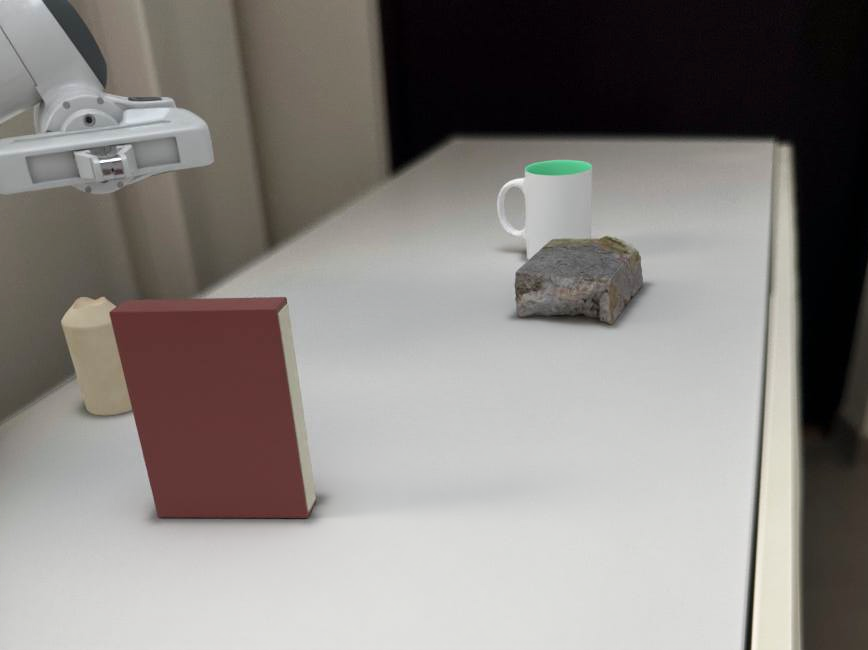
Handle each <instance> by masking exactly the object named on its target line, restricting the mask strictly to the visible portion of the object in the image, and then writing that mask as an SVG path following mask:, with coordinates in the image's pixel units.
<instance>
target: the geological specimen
mask: <svg viewBox="0 0 868 650" xmlns="http://www.w3.org/2000/svg"><path fill="white" fill-rule="evenodd" d="M643 284H644V277H643V268H642V256H641V254H640V251H639V250H638V249H637V248H636V247H635V246H634V244H632V243H630V242H628V241H625V240H623V239H621V238H618V237H612V236H608V235H605V236H602V237H599V238H598V237H597V238H594V237H593V238H592V237H591V238H587V239H573V238H562V239H552V240H550V241H549V242H548V243H547V244H546V245H545V246H544V247H542V248H541V249H540V250H539V252H537V253H536V254H535V255H534V256H533V257H532V258H530V259H529V260H528V259H527V261H526V262H524V264H522V265H521V266H520V267H519V268H518V269H517V270H516V271H515V278H514V290H515V291H514V292H515V299H514V300H515V310H516V313H517V317H519V318H528V317H536V316H545V317H551V316H568V315H569V316H572V317H574V316H578V315H581V314H582V315H584V316H585V317H586V318H590V319H591V318H592V319H594V318H598V319H599V320H600V322H603V323H606V324H608V325H614V323H615V321H617V319H618V317H619V316H620V315H621V314H622V312H623V310H624V309H625V307H626V306H628V304H629V303H630V301H631V298H634V296H636V294H637V293H638V291H640V289H641V288H642V287H643Z"/></svg>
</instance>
